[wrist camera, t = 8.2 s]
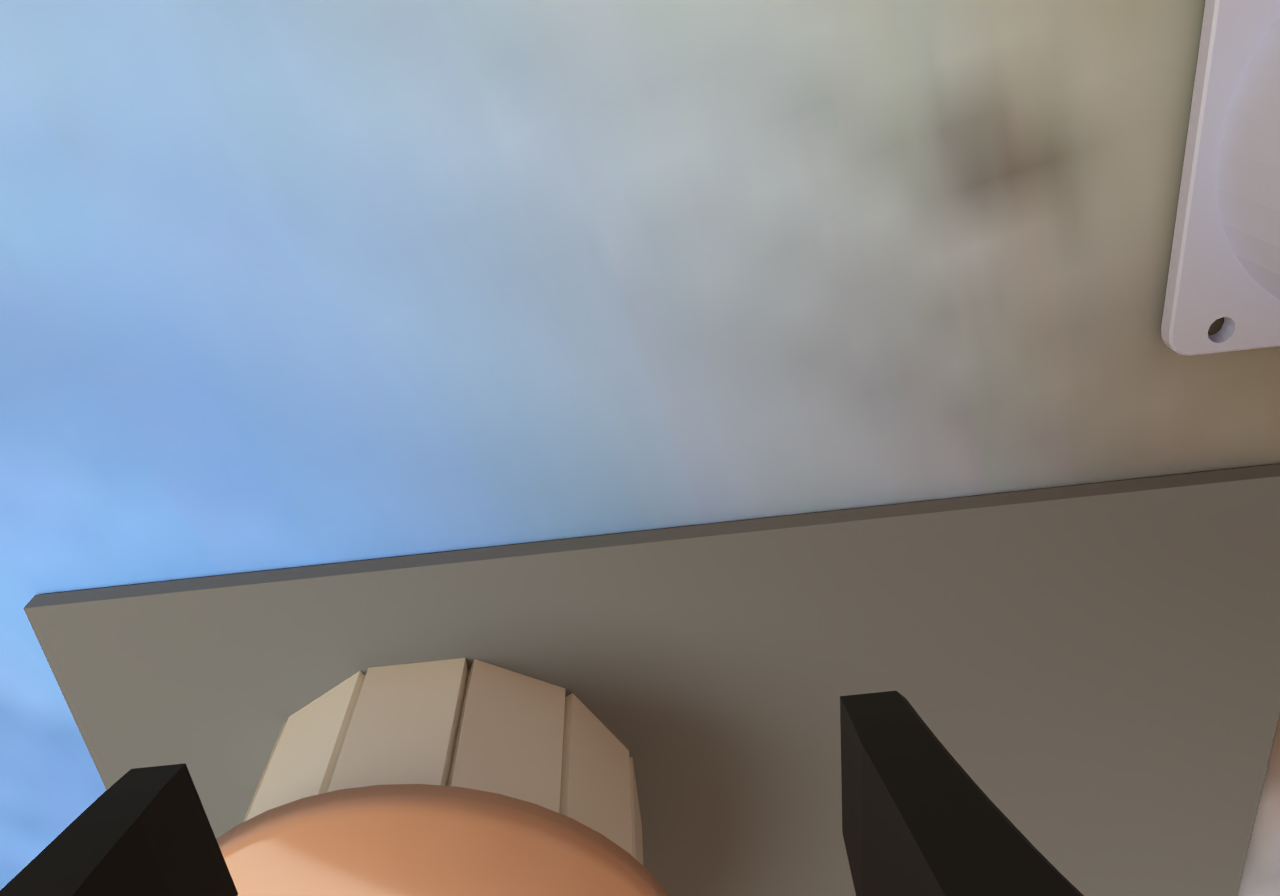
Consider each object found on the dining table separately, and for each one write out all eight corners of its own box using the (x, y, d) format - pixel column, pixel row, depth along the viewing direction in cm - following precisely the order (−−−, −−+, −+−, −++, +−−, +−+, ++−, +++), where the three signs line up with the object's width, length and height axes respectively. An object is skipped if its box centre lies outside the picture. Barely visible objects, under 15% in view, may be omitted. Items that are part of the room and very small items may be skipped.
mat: (1321, 459, 21) (1337, 470, 21) (1204, 979, 29) (1214, 995, 29) (35, 595, 22) (23, 608, 22) (248, 1072, 29) (243, 1089, 29)
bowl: (616, 642, 22) (619, 792, 18) (654, 917, 26) (663, 1091, 22) (218, 683, 23) (134, 842, 19) (316, 951, 27) (265, 1129, 22)
